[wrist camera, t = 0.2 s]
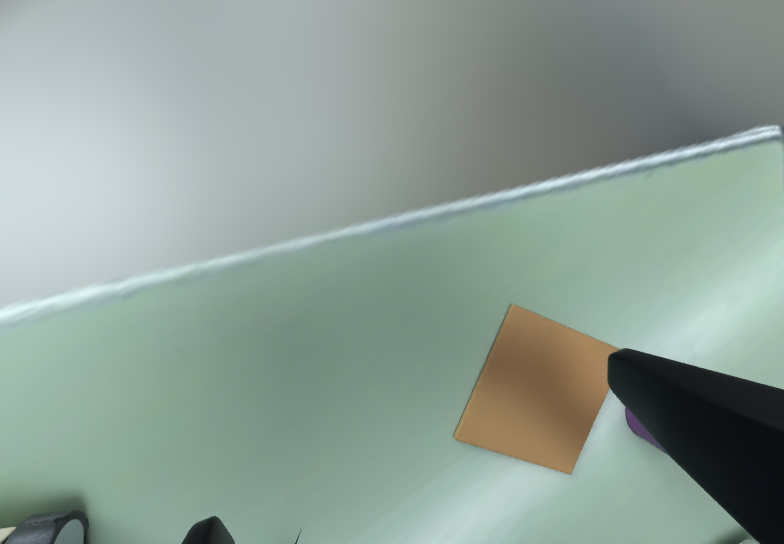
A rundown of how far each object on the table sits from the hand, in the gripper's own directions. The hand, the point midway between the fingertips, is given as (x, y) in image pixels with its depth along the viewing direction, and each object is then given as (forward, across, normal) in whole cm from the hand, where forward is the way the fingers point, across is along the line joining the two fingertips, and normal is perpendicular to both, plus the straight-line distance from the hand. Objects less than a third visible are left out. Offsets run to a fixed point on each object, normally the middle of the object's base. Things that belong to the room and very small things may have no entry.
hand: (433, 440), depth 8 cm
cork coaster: (+12, -11, +14) cm, 22 cm away
